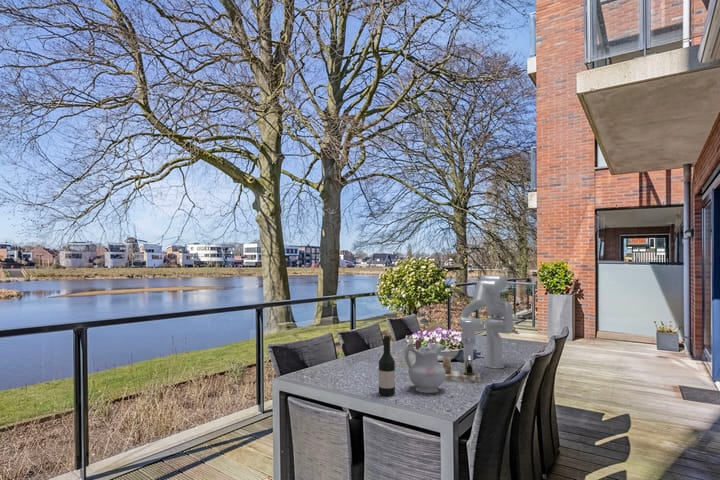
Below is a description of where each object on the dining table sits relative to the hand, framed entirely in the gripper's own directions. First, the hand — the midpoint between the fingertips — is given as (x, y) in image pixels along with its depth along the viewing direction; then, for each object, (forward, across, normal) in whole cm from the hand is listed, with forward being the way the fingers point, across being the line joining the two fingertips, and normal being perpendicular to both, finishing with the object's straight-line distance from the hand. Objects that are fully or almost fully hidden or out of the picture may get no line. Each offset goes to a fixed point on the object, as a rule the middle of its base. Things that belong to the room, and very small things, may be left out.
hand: (468, 371), depth 248 cm
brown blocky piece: (+5, -16, -28) cm, 32 cm away
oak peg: (+5, 0, 0) cm, 5 cm away
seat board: (+5, 0, -6) cm, 8 cm away
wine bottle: (+5, +37, -44) cm, 57 cm away
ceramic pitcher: (+5, +26, -25) cm, 36 cm away
